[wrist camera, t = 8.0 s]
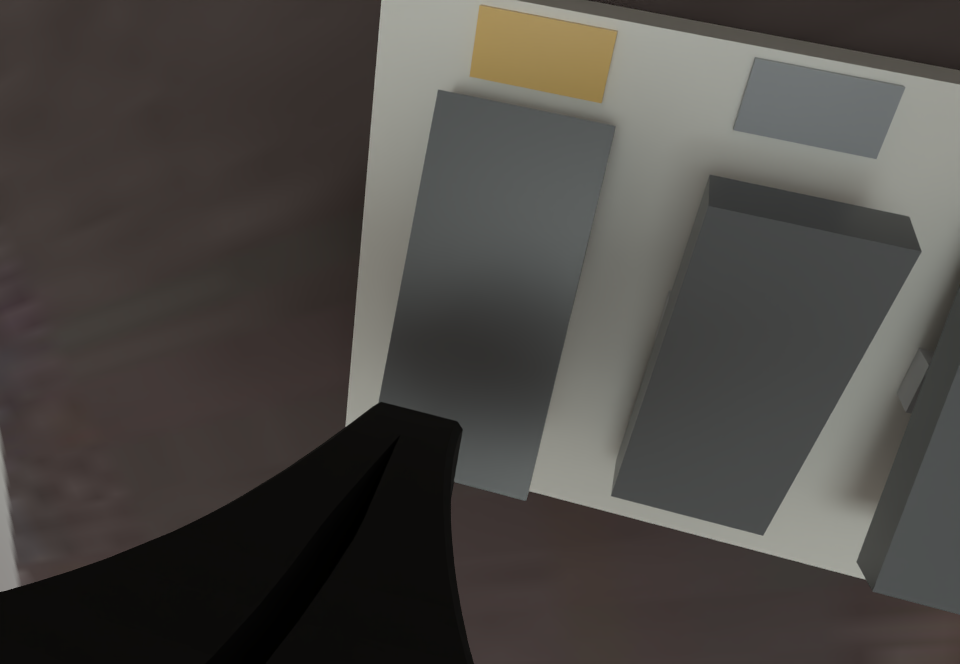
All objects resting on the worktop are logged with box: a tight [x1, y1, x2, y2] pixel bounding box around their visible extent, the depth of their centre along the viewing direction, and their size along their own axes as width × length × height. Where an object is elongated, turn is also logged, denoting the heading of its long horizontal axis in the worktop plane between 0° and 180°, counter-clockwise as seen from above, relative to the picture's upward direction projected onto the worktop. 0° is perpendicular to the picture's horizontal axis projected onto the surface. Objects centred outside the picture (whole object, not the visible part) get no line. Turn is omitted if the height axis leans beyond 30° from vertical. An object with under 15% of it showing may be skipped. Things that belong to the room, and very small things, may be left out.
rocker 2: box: [611, 175, 922, 536], centre depth 17 cm, size 4×8×1 cm, turn 171°
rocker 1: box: [378, 90, 616, 501], centre depth 17 cm, size 4×8×1 cm, turn 171°
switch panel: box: [346, 0, 960, 580], centre depth 19 cm, size 18×12×3 cm, turn 81°
